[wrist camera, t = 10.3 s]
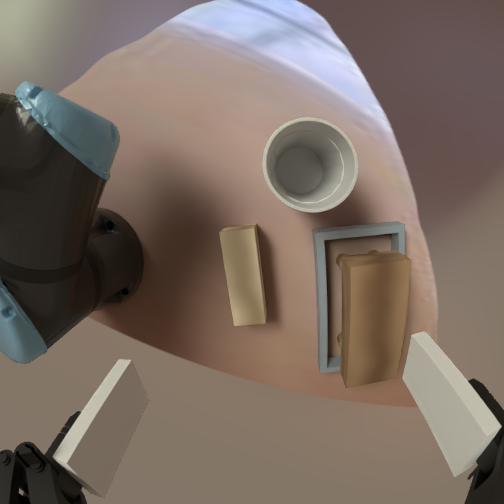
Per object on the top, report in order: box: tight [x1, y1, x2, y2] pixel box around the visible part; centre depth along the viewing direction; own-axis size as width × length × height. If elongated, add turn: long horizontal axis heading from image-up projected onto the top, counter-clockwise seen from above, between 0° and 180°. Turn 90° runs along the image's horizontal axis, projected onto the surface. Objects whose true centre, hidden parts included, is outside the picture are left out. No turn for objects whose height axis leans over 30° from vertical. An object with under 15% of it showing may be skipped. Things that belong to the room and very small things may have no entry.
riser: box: [219, 223, 267, 326], centre depth 34 cm, size 4×12×4 cm, turn 7°
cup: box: [263, 118, 358, 213], centre depth 27 cm, size 8×8×12 cm
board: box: [340, 250, 411, 388], centre depth 29 cm, size 7×16×4 cm, turn 7°
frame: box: [312, 221, 405, 374], centre depth 34 cm, size 12×21×5 cm, turn 7°
